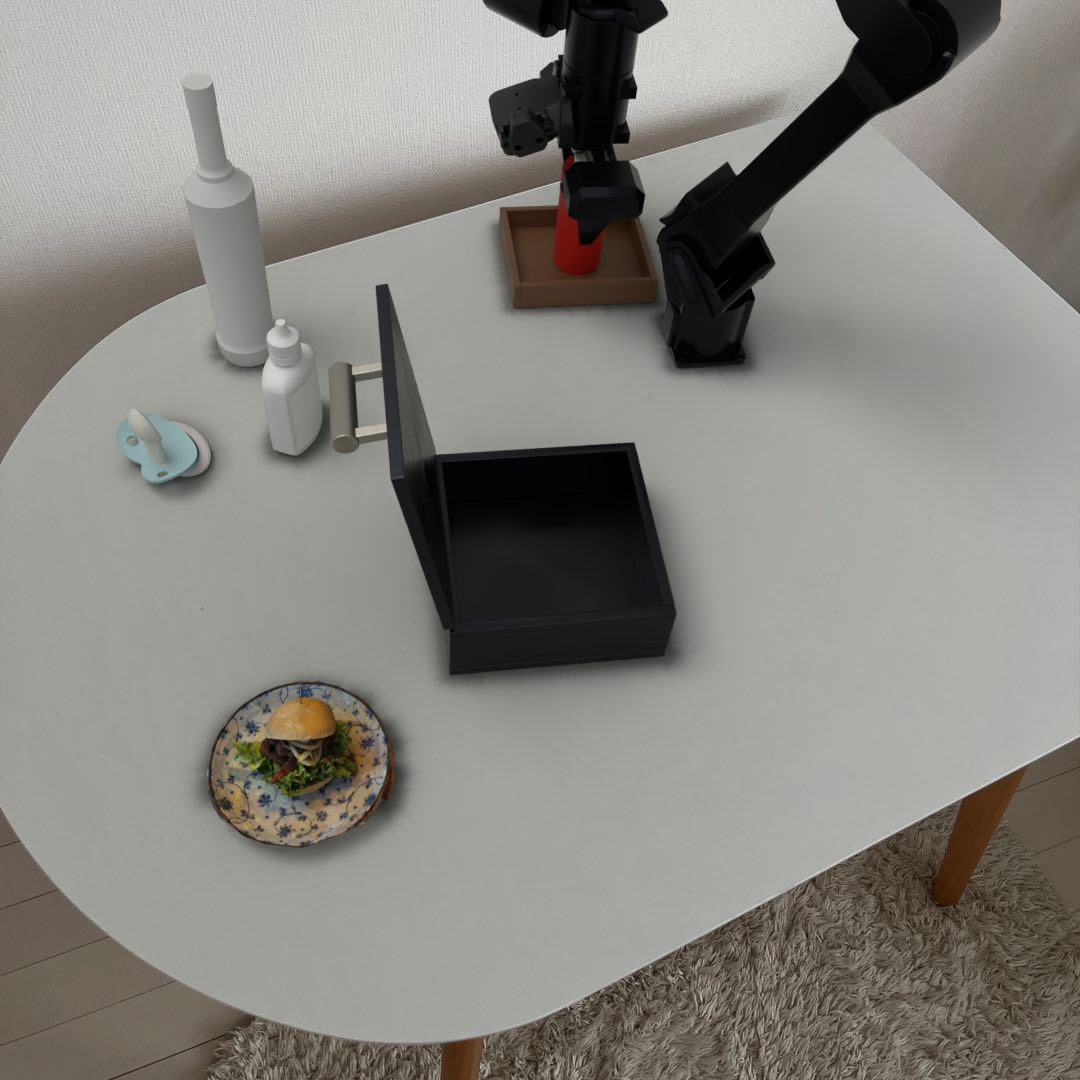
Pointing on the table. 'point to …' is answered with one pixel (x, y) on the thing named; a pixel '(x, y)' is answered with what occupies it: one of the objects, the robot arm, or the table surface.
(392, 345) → the door
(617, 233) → the tray
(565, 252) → the ketchup
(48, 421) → the table surface
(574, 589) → the black open box
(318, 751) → the burger
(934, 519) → the table surface
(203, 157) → the bottle
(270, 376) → the eye dropper bottle
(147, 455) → the pacifier
